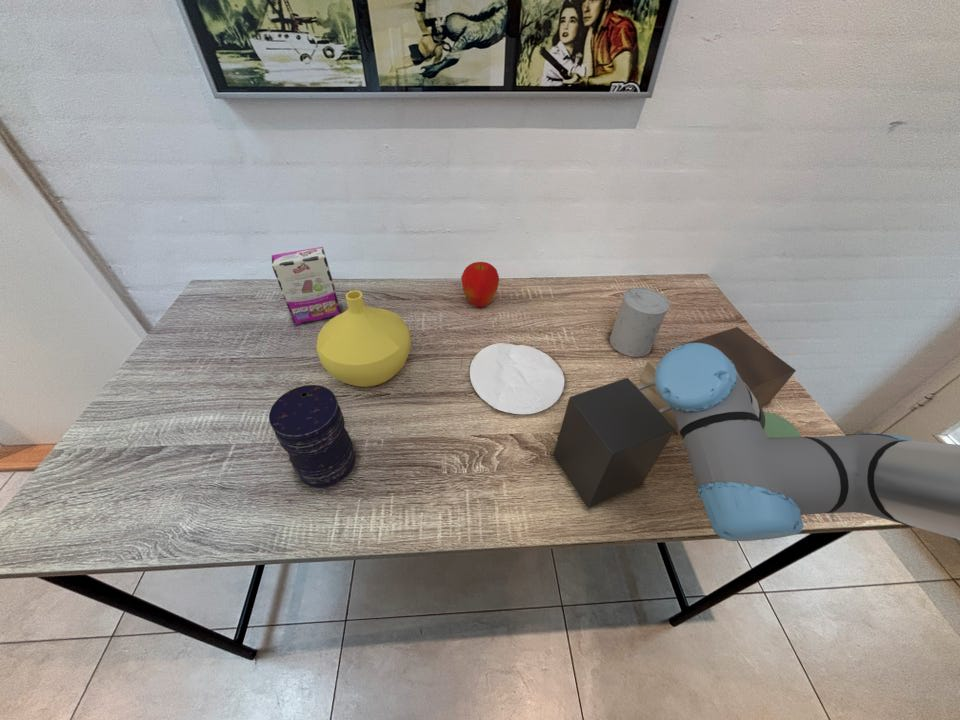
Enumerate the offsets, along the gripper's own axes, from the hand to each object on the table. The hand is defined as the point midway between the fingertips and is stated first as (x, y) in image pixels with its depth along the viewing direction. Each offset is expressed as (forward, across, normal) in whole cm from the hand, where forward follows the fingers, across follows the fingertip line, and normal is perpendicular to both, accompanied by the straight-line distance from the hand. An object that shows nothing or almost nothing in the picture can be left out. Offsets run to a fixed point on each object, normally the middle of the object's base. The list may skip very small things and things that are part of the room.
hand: (758, 449), depth 66 cm
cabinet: (+12, -17, +2) cm, 21 cm away
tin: (+6, 0, -5) cm, 8 cm away
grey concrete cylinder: (+6, -36, -5) cm, 36 cm away
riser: (-11, -8, -22) cm, 26 cm away
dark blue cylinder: (-43, -23, -54) cm, 72 cm away
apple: (-15, -60, -25) cm, 67 cm away
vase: (-36, -44, -46) cm, 73 cm away
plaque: (-15, -33, -26) cm, 44 cm away
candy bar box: (-43, -66, -54) cm, 95 cm away
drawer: (+4, -16, -6) cm, 17 cm away
